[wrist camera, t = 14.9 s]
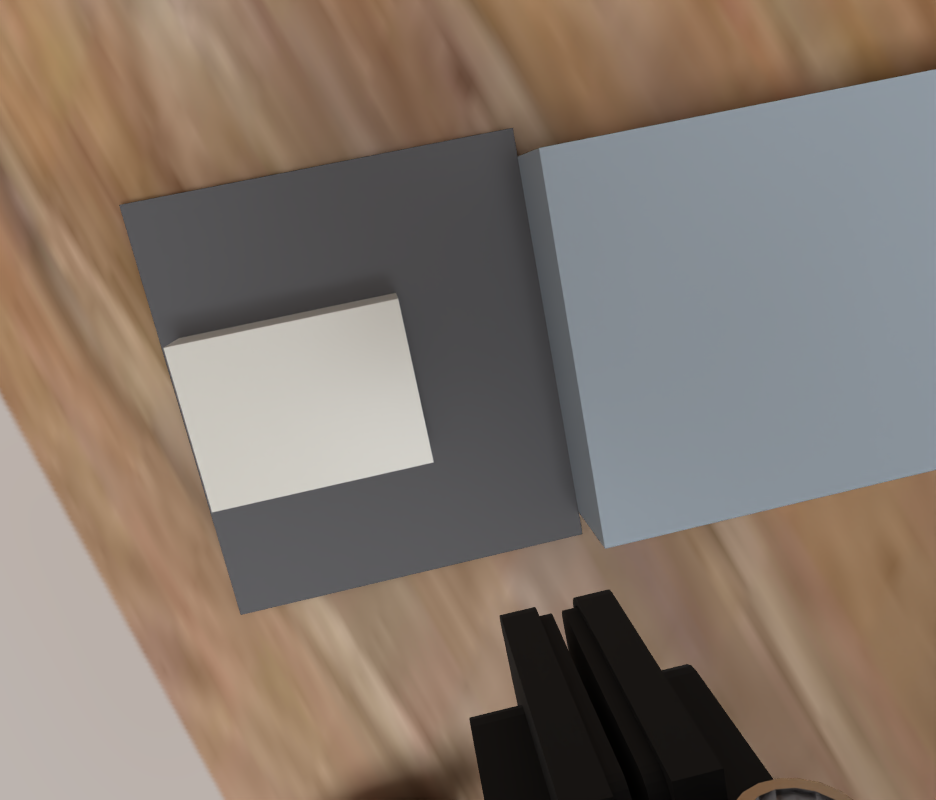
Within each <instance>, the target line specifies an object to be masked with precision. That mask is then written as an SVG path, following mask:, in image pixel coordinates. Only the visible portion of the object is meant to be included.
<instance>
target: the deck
mask: <svg viewBox="0 0 936 800" xmlns="http://www.w3.org/2000/svg"><path fill="white" fill-rule="evenodd" d="M518 162H519V168H520V174H521V180H522V186H523V191H524V197H525V203H526V209H527V215H528V220H529V226H530V232H531V238H532V244H533V250H534V255H535V261H536V267H537V273H538V279H539V284H540V290H541V296H542V302H543V308H544V314H545V319H546V325H547V331H548V337H549V343H550V348H551V354H552V360H553V366H554V372H555V377H556V383H557V389H558V395H559V401H560V407H561V412H562V418H563V424H564V430H565V436H566V441H567V447H568V453H569V459H570V465H571V471H572V476H573V482H574V488H575V494H576V500H577V505H578V511H579V513H580V514H581V516H582V517H583V518H584V520H585V521H586V523H587V524H588V525H589V527H590V528H591V530H592V531H593V532H594V534H595V535H596V537H597V538H598V539H599V541H600V542H601V544H602V545H603V546H604V548H605V549H606V548H610V547H614V546H619V545H623V544H627V543H631V542H635V541H640V540H644V539H648V538H652V537H656V536H661V535H665V534H669V533H673V532H677V531H681V530H686V529H690V528H694V527H698V526H702V525H707V524H711V523H715V522H719V521H723V520H728V519H732V518H736V517H740V516H744V515H749V514H753V513H757V512H761V511H765V510H769V509H774V508H778V507H782V506H786V505H790V504H795V503H799V502H803V501H807V500H811V499H816V498H820V497H824V496H828V495H832V494H837V493H841V492H845V491H849V490H853V489H857V488H862V487H866V486H870V485H874V484H878V483H883V482H887V481H891V480H895V479H899V478H904V477H908V476H912V475H916V474H920V473H925V472H929V471H933V470H936V69H935V70H930V71H925V72H920V73H914V74H909V75H904V76H899V77H894V78H889V79H884V80H879V81H874V82H869V83H864V84H859V85H854V86H849V87H844V88H839V89H834V90H829V91H824V92H819V93H814V94H809V95H804V96H799V97H794V98H789V99H783V100H778V101H773V102H768V103H763V104H758V105H753V106H748V107H743V108H738V109H733V110H728V111H723V112H718V113H713V114H708V115H703V116H698V117H693V118H688V119H683V120H678V121H673V122H668V123H663V124H658V125H652V126H647V127H642V128H637V129H632V130H627V131H622V132H617V133H612V134H607V135H602V136H597V137H592V138H587V139H582V140H577V141H572V142H567V143H562V144H557V145H552V146H547V147H542V148H538V149H535V150H533V151H530V152H528V153H525V154H523V155H520V156H518Z"/></svg>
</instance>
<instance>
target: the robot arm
mask: <svg viewBox="0 0 936 800" xmlns="http://www.w3.org/2000/svg"><path fill="white" fill-rule="evenodd" d="M573 606H574V608H572V609H568V610H564V611H562V617H563V623H564V629H565V634H566V639H567V645H568V649H567V646H566V644H565V642H564V640H563V637H562V635H561V633H560V631H559V628H558V626H557V624H556V622H555V619H554V617H553V615H552V614H547V615H543V616H539V614H538V612H537V610H536V608H535V607H533V608H529V609H525V610H521V611H516V612H512V613H508V614H504V615H500V622H501V627H502V632H503V637H504V641H505V646H506V651H507V656H508V661H509V666H510V670H511V675H512V680H513V685H514V690H515V694H516V699H517V704H518V706H515V707H511V708H507V709H503V710H499V711H495V712H491V713H487V714H483V715H479V716H475V717H471V718H470V725H471V730H472V736H473V741H474V746H475V752H476V757H477V763H478V768H479V773H480V779H481V784H482V790H483V795H484V800H853V799H851V798H850V797H849V796H847V795H846V794H844V793H843V792H842V791H840V790H837V789H835V788H833V787H830V786H828V785H825V784H823V783H821V782H816V781H811V780H806V779H800V778H777V779H773V778H772V777H771V775H770V774H769V773H768V771H767V770H766V768H765V767H764V766H763V764H762V763H761V761H760V760H759V759H758V757H757V756H756V754H755V753H754V751H753V750H752V749H751V747H750V746H749V744H748V743H747V742H746V740H745V739H744V737H743V736H742V735H741V733H740V732H739V730H738V729H737V728H736V726H735V725H734V723H733V722H732V721H731V719H730V718H729V716H728V715H727V713H726V712H725V711H724V709H723V708H722V706H721V705H720V704H719V702H718V701H717V699H716V698H715V697H714V695H713V694H712V692H711V691H710V690H709V688H708V687H707V685H706V684H705V682H704V681H703V680H702V678H701V677H700V675H699V674H698V673H697V671H696V670H695V669H694V668H693V667H692V666H691V665H688V664H686V665H682V666H678V667H674V668H670V669H666V670H662V671H661V669H660V667H659V666H658V664H657V663H656V661H655V660H654V658H653V656H652V655H651V653H650V652H649V650H648V649H647V647H646V645H645V644H644V642H643V641H642V639H641V637H640V636H639V634H638V633H637V631H636V630H635V628H634V626H633V625H632V623H631V622H630V620H629V619H628V617H627V615H626V614H625V612H624V611H623V609H622V607H621V606H620V604H619V603H618V601H617V600H616V598H615V596H614V595H613V593H612V592H611V591H610V590H605V591H600V592H596V593H592V594H588V595H584V596H579V597H575V598H573ZM568 650H569V651H568Z"/></svg>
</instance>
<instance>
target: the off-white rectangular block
mask: <svg viewBox="0 0 936 800" xmlns="http://www.w3.org/2000/svg"><path fill="white" fill-rule="evenodd" d="M163 349H164V352H165V355H166V359H167V362H168V365H169V369H170V372H171V376H172V379H173V382H174V386H175V389H176V392H177V396H178V399H179V403H180V406H181V409H182V413H183V416H184V420H185V423H186V426H187V430H188V433H189V436H190V440H191V443H192V447H193V450H194V453H195V457H196V460H197V463H198V467H199V470H200V474H201V477H202V480H203V484H204V487H205V491H206V494H207V497H208V501H209V504H210V507H211V511H212V512H216V511H221V510H225V509H230V508H234V507H239V506H243V505H247V504H252V503H256V502H261V501H265V500H270V499H274V498H278V497H283V496H287V495H292V494H296V493H300V492H305V491H309V490H314V489H318V488H323V487H327V486H331V485H336V484H340V483H345V482H349V481H354V480H358V479H362V478H367V477H371V476H376V475H380V474H384V473H389V472H393V471H398V470H402V469H407V468H411V467H415V466H420V465H424V464H429V463H433V462H434V461H433V457H432V452H431V448H430V443H429V438H428V434H427V429H426V425H425V420H424V415H423V411H422V406H421V401H420V397H419V392H418V388H417V383H416V378H415V374H414V369H413V365H412V360H411V355H410V351H409V346H408V342H407V337H406V332H405V328H404V323H403V319H402V314H401V309H400V305H399V300H398V297H397V294H396V293H392V294H388V295H383V296H378V297H373V298H368V299H364V300H359V301H354V302H349V303H344V304H340V305H335V306H330V307H325V308H321V309H316V310H311V311H306V312H301V313H297V314H292V315H287V316H282V317H278V318H273V319H268V320H263V321H258V322H254V323H249V324H244V325H239V326H235V327H230V328H225V329H220V330H215V331H211V332H206V333H201V334H196V335H192V336H187V337H182V338H178V339H177V340H175V341H173V342H172V343H170V344H169V345H167V346H166V347H164V348H163Z"/></svg>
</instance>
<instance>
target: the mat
mask: <svg viewBox="0 0 936 800" xmlns="http://www.w3.org/2000/svg"><path fill="white" fill-rule="evenodd" d="M119 206H120V209H121V213H122V216H123V219H124V223H125V226H126V230H127V233H128V236H129V240H130V243H131V246H132V250H133V253H134V257H135V260H136V263H137V267H138V270H139V273H140V277H141V280H142V283H143V287H144V290H145V294H146V297H147V300H148V304H149V307H150V310H151V314H152V317H153V321H154V324H155V327H156V331H157V334H158V337H159V341H160V344H161V347H162V351H163V354H164V358H165V361H166V364H167V368H168V371H169V374H170V378H171V381H172V385H173V388H174V391H175V395H176V398H177V401H178V405H179V408H180V412H181V415H182V418H183V422H184V425H185V428H186V432H187V435H188V438H189V442H190V445H191V449H192V452H193V455H194V459H195V462H196V465H197V469H198V472H199V476H200V479H201V482H202V486H203V489H204V492H205V496H206V499H207V503H208V506H209V509H210V513H211V516H212V519H213V523H214V526H215V529H216V533H217V536H218V540H219V543H220V546H221V550H222V553H223V556H224V560H225V563H226V567H227V570H228V573H229V577H230V580H231V583H232V587H233V590H234V593H235V597H236V600H237V604H238V607H239V610H240V614H241V615H242V614H247V613H251V612H255V611H259V610H263V609H268V608H272V607H276V606H280V605H285V604H289V603H293V602H297V601H301V600H306V599H310V598H314V597H318V596H323V595H327V594H331V593H335V592H339V591H344V590H348V589H352V588H356V587H361V586H365V585H369V584H373V583H378V582H382V581H386V580H390V579H394V578H399V577H403V576H407V575H411V574H416V573H420V572H424V571H428V570H432V569H437V568H441V567H445V566H449V565H454V564H458V563H462V562H466V561H470V560H475V559H479V558H483V557H487V556H492V555H496V554H500V553H504V552H509V551H513V550H517V549H521V548H525V547H530V546H534V545H538V544H542V543H547V542H551V541H555V540H559V539H563V538H568V537H572V536H576V535H580V534H582V529H581V523H580V517H579V511H578V505H577V500H576V494H575V488H574V482H573V476H572V471H571V465H570V459H569V453H568V447H567V441H566V436H565V430H564V424H563V418H562V412H561V407H560V401H559V395H558V389H557V383H556V377H555V372H554V366H553V360H552V354H551V348H550V343H549V337H548V331H547V325H546V319H545V314H544V308H543V302H542V296H541V290H540V284H539V279H538V273H537V267H536V261H535V255H534V250H533V244H532V238H531V232H530V226H529V220H528V215H527V209H526V203H525V197H524V191H523V186H522V180H521V174H520V168H519V162H518V156H517V151H516V145H515V139H514V133H513V128H510V129H505V130H500V131H495V132H490V133H485V134H479V135H474V136H469V137H464V138H459V139H454V140H449V141H444V142H439V143H434V144H428V145H423V146H418V147H413V148H408V149H403V150H398V151H393V152H388V153H382V154H377V155H372V156H367V157H362V158H357V159H352V160H347V161H342V162H337V163H331V164H326V165H321V166H316V167H311V168H306V169H301V170H296V171H291V172H286V173H280V174H275V175H270V176H265V177H260V178H255V179H250V180H245V181H240V182H235V183H229V184H224V185H219V186H214V187H209V188H204V189H199V190H194V191H189V192H184V193H178V194H173V195H168V196H163V197H158V198H153V199H148V200H143V201H138V202H133V203H127V204H122V205H119ZM392 293H396V294H397V297H398V300H399V305H400V309H401V314H402V319H403V323H404V328H405V332H406V337H407V342H408V346H409V351H410V355H411V360H412V365H413V369H414V374H415V378H416V383H417V388H418V392H419V397H420V401H421V406H422V411H423V415H424V420H425V425H426V429H427V434H428V438H429V443H430V448H431V452H432V457H433V461H434V462H433V463H429V464H424V465H420V466H415V467H411V468H407V469H402V470H398V471H393V472H389V473H384V474H380V475H376V476H371V477H367V478H362V479H358V480H354V481H349V482H345V483H340V484H336V485H331V486H327V487H323V488H318V489H314V490H309V491H305V492H300V493H296V494H292V495H287V496H283V497H278V498H274V499H270V500H265V501H261V502H256V503H252V504H247V505H243V506H239V507H234V508H230V509H225V510H221V511H216V512H212V511H211V507H210V504H209V501H208V497H207V494H206V491H205V487H204V484H203V480H202V477H201V474H200V470H199V467H198V463H197V460H196V457H195V453H194V450H193V447H192V443H191V440H190V436H189V433H188V430H187V426H186V423H185V420H184V416H183V413H182V409H181V406H180V403H179V399H178V396H177V392H176V389H175V386H174V382H173V379H172V376H171V372H170V369H169V365H168V362H167V359H166V355H165V352H164V349H163V348H164V347H166V346H167V345H169V344H170V343H172V342H173V341H175V340H177V339H178V338H182V337H187V336H192V335H196V334H201V333H206V332H211V331H215V330H220V329H225V328H230V327H235V326H239V325H244V324H249V323H254V322H258V321H263V320H268V319H273V318H278V317H282V316H287V315H292V314H297V313H301V312H306V311H311V310H316V309H321V308H325V307H330V306H335V305H340V304H344V303H349V302H354V301H359V300H364V299H368V298H373V297H378V296H383V295H388V294H392Z"/></svg>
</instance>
